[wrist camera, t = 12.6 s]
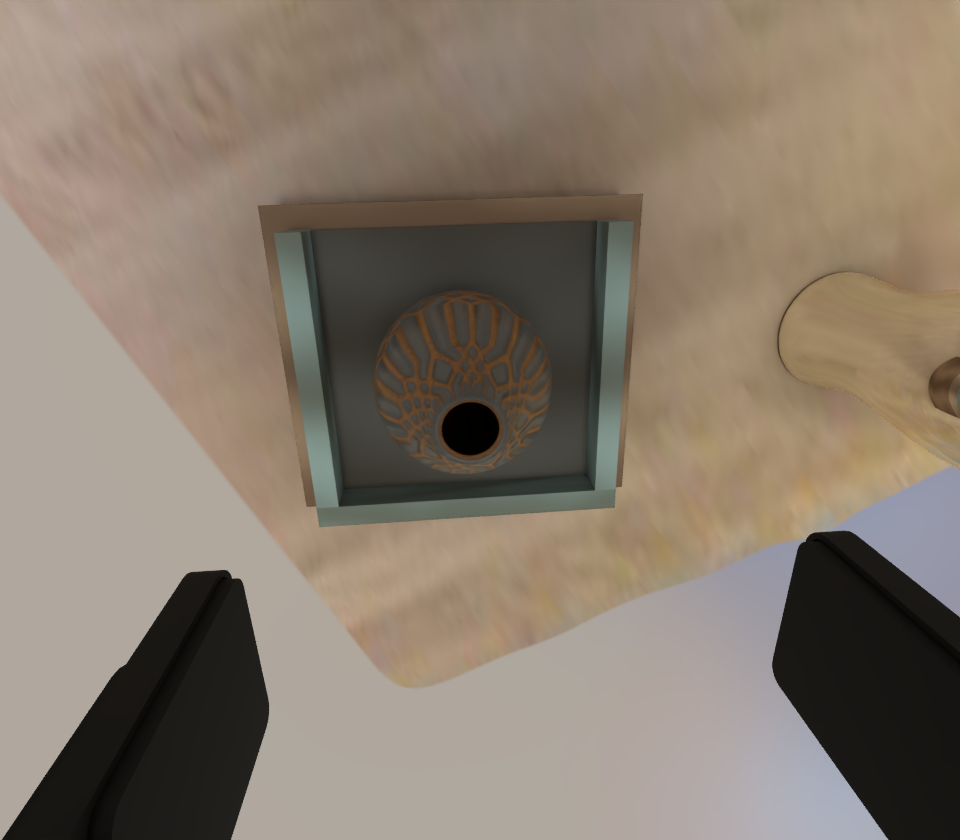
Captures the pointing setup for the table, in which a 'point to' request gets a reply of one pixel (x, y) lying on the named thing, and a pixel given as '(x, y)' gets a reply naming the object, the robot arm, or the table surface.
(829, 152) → the table surface
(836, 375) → the beer glass
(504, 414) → the vase
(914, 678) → the robot arm
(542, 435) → the dock
